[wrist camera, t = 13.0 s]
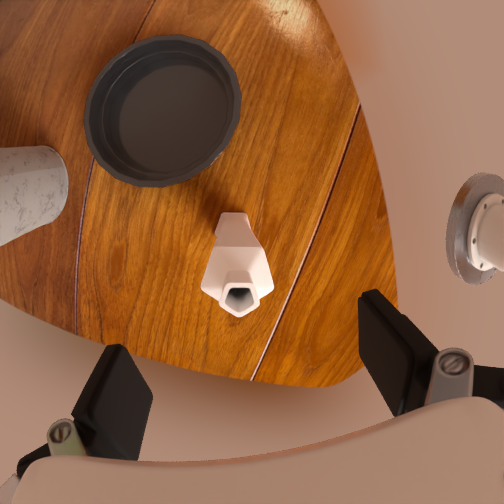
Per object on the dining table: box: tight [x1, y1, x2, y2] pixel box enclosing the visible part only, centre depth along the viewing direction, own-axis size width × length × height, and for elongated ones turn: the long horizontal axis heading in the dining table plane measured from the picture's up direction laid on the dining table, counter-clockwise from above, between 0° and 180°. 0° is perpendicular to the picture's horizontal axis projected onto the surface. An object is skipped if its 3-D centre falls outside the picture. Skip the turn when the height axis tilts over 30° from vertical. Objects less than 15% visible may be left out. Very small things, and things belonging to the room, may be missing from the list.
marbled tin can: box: [0, 145, 69, 246], centre depth 19 cm, size 10×10×12 cm
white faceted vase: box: [201, 212, 274, 317], centre depth 22 cm, size 5×4×15 cm
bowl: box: [84, 35, 242, 188], centre depth 22 cm, size 14×14×4 cm
